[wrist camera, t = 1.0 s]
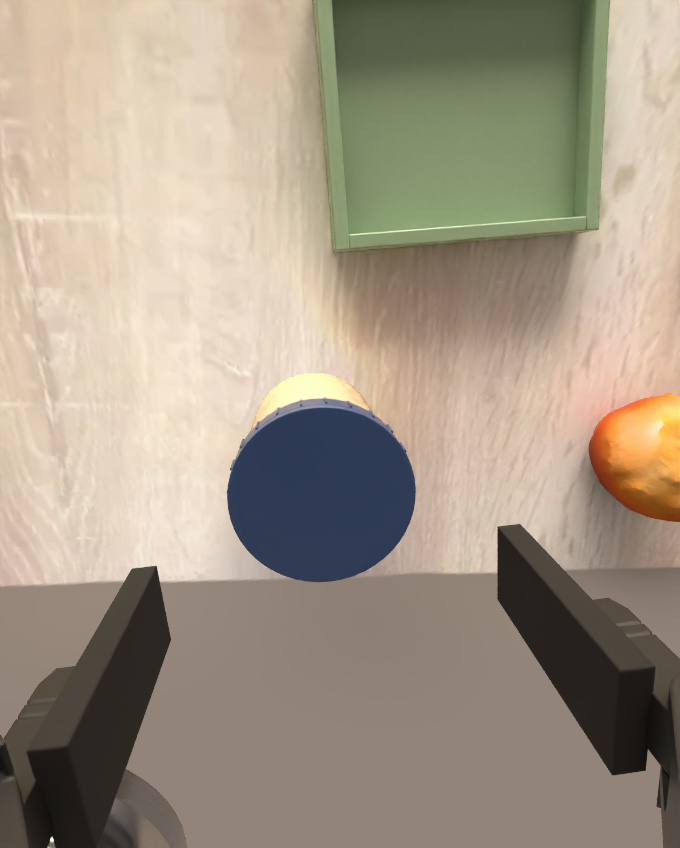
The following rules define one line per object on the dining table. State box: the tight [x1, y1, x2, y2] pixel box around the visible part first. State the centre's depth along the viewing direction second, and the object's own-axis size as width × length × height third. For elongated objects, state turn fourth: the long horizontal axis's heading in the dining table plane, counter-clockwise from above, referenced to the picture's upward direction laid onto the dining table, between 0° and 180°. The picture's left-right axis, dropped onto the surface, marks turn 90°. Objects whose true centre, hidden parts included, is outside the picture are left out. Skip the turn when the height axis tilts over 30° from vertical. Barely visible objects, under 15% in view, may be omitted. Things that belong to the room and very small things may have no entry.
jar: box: [251, 373, 373, 430], centre depth 29 cm, size 8×8×10 cm
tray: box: [313, 0, 610, 253], centre depth 29 cm, size 16×14×2 cm
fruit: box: [589, 394, 680, 522], centre depth 33 cm, size 8×8×8 cm
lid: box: [227, 397, 416, 582], centre depth 24 cm, size 9×9×2 cm
